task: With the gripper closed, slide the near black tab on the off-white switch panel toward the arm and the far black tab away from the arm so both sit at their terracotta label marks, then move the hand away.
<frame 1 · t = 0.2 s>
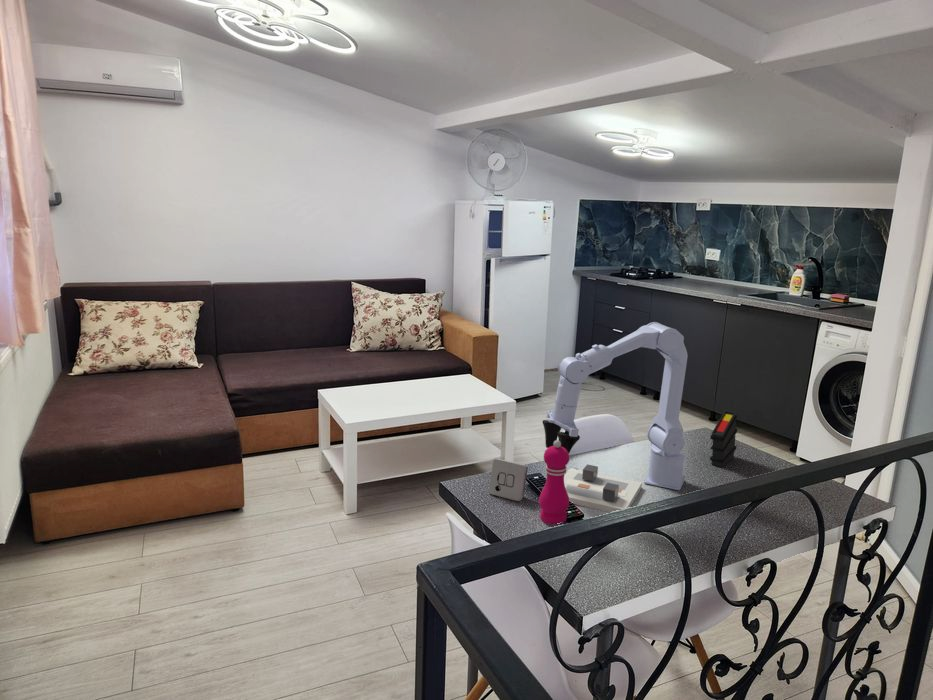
hand: (555, 453, 172), 10 cm above the table, tool pointing down, fingers open, 7 cm apart
tab one: (590, 472, 178), point 3 cm above the table, slide at 0.0 cm
electrical switch: (507, 495, 171), on the table
switch panel: (595, 492, 173), on the table
pepper mill: (553, 519, 159), on the table
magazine: (721, 462, 195), on the table
tab two: (610, 491, 166), point 3 cm above the table, slide at 0.0 cm
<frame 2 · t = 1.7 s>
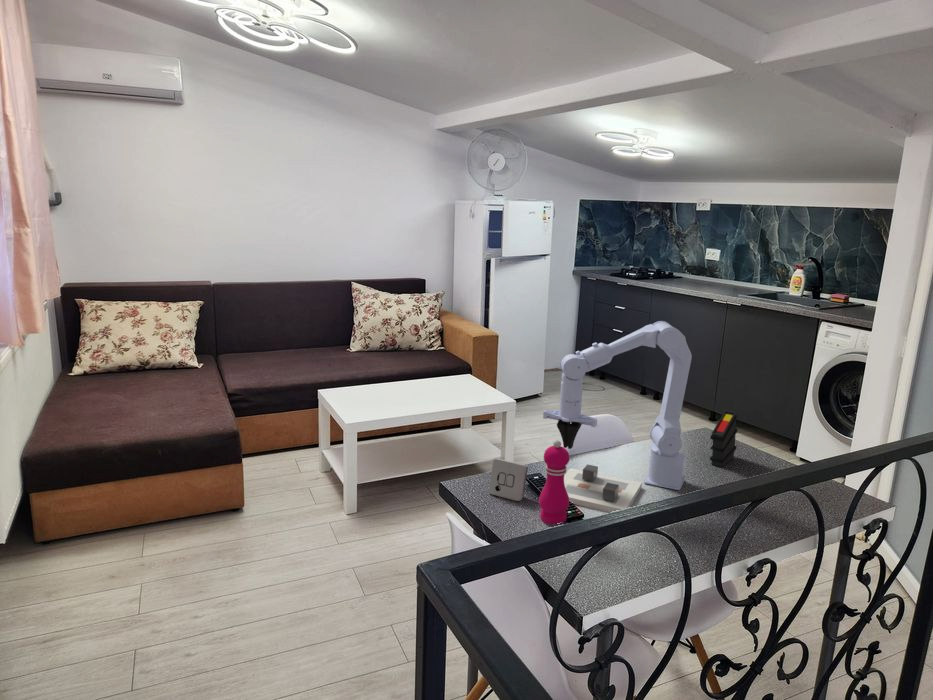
hand: (568, 447, 179), 9 cm above the table, tool pointing down, fingers closed
nothing on the table moved.
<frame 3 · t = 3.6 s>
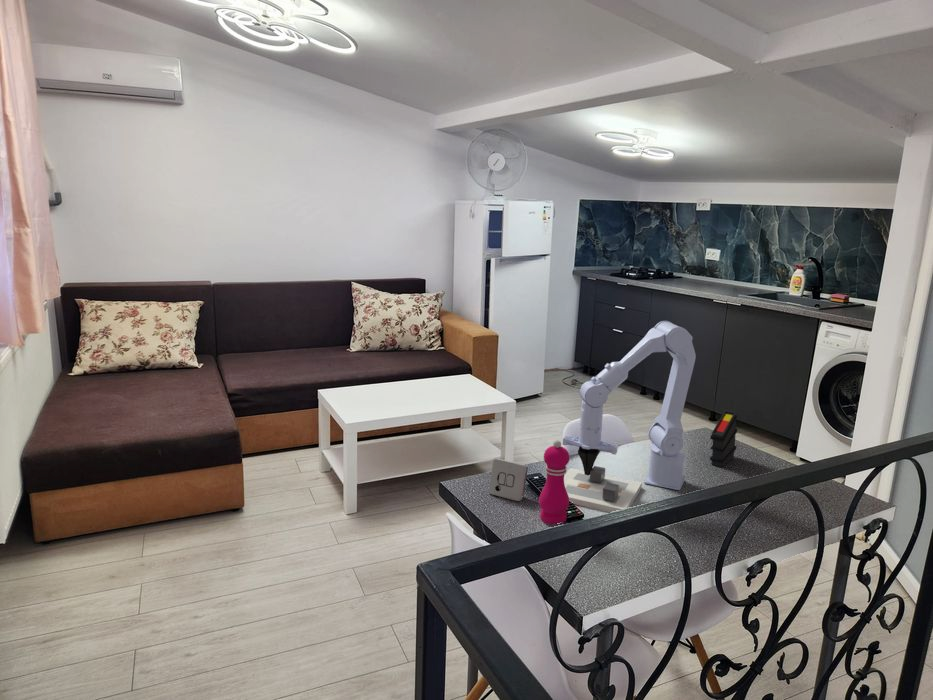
hand: (587, 473, 178), 3 cm above the table, tool pointing down, fingers closed
tab one: (597, 474, 177), point 3 cm above the table, slide at 2.1 cm, touching gripper
everything else where it was.
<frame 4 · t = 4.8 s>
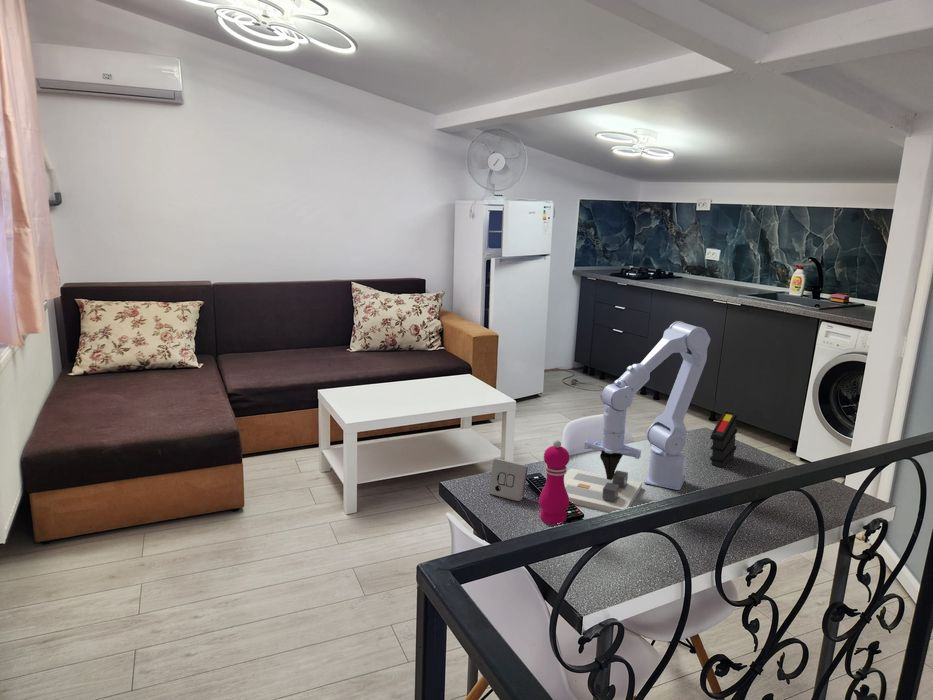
hand: (610, 478, 175), 3 cm above the table, tool pointing down, fingers closed
tab one: (620, 479, 174), point 3 cm above the table, slide at 8.2 cm, touching gripper
everything else where it was.
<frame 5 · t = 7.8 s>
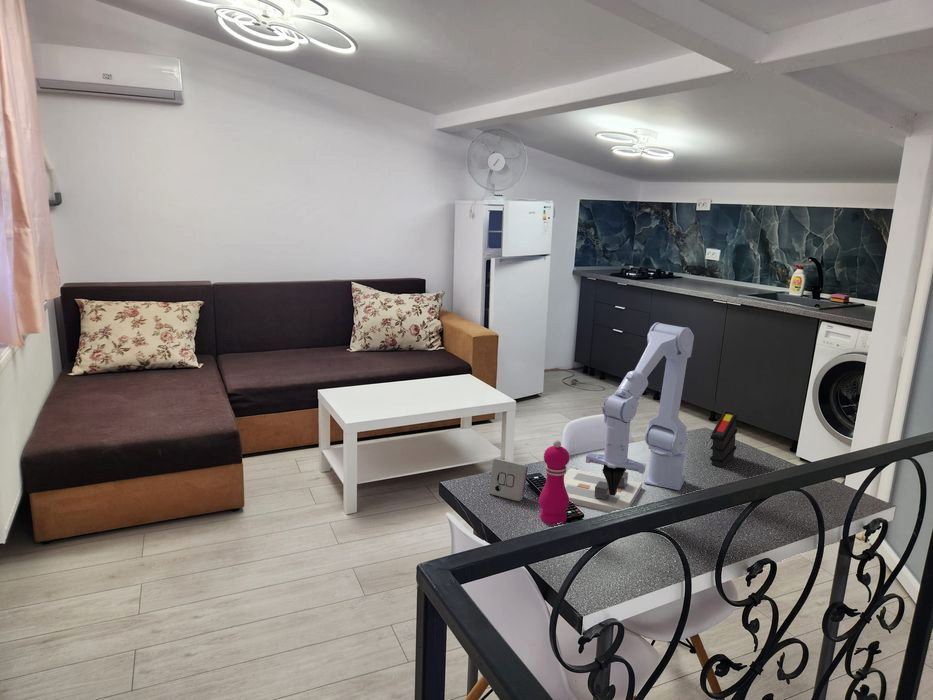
hand: (612, 493, 166), 3 cm above the table, tool pointing down, fingers closed
tab one: (620, 479, 174), point 3 cm above the table, slide at 8.2 cm
tab two: (602, 490, 167), point 3 cm above the table, slide at 2.1 cm, touching gripper
everything else where it was.
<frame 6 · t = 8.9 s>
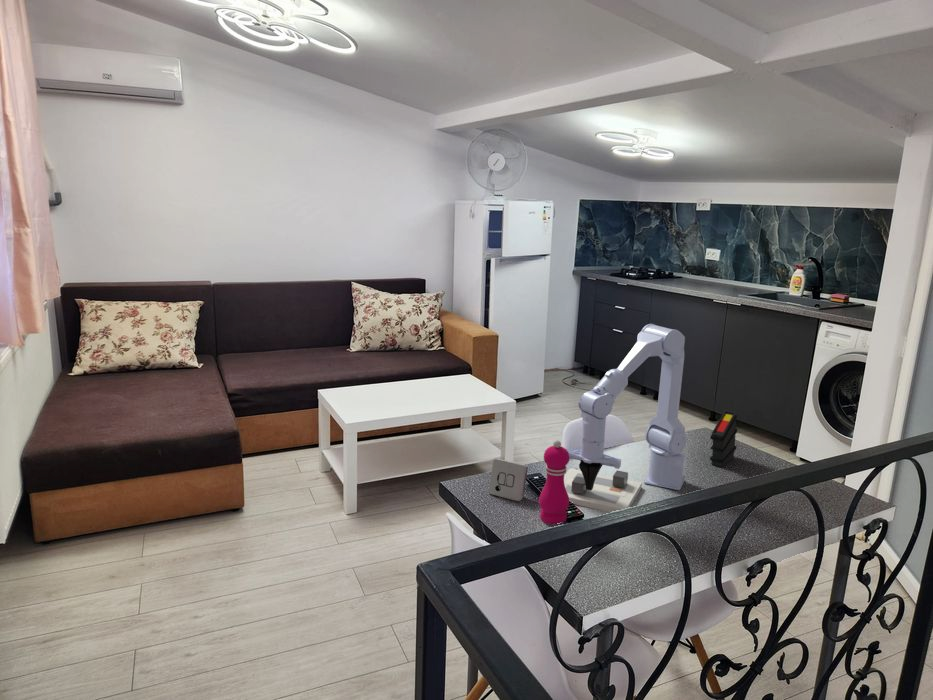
hand: (589, 488, 169), 3 cm above the table, tool pointing down, fingers closed
tab two: (579, 485, 170), point 3 cm above the table, slide at 8.1 cm, touching gripper
everything else where it was.
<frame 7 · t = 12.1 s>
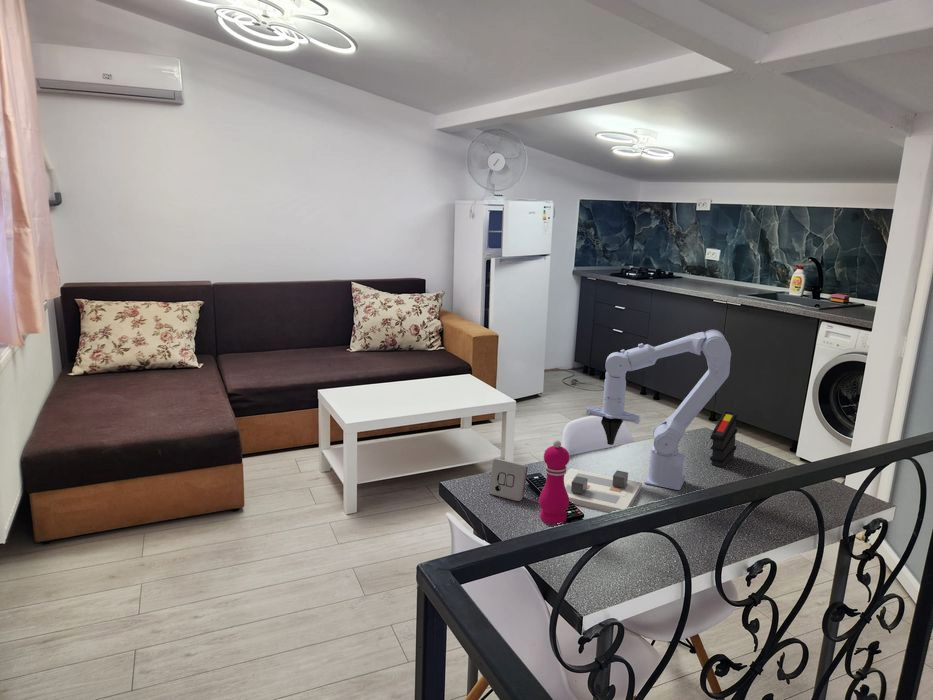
hand: (610, 443, 182), 9 cm above the table, tool pointing down, fingers closed
tab two: (579, 485, 170), point 3 cm above the table, slide at 8.2 cm
everything else where it was.
at the end: tab one slide at 8.2 cm; tab two slide at 8.2 cm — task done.
